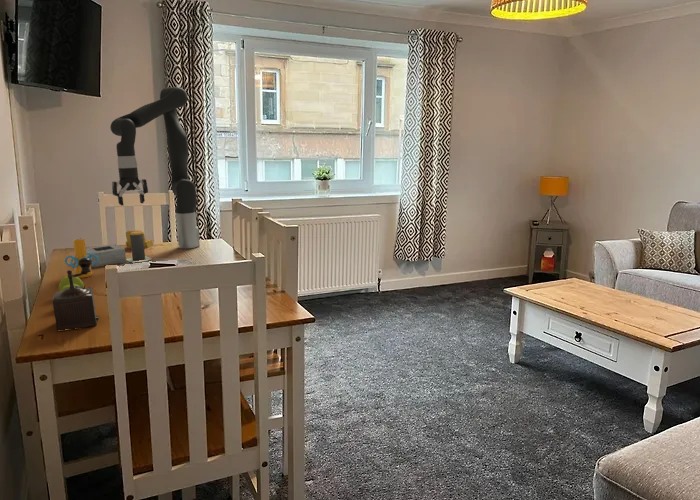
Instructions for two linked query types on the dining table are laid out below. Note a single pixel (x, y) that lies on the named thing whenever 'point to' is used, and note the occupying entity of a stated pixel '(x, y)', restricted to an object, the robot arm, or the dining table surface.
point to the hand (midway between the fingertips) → (132, 204)
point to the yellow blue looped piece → (80, 256)
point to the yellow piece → (146, 243)
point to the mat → (133, 260)
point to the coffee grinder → (75, 303)
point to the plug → (137, 246)
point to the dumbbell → (66, 284)
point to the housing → (107, 254)
